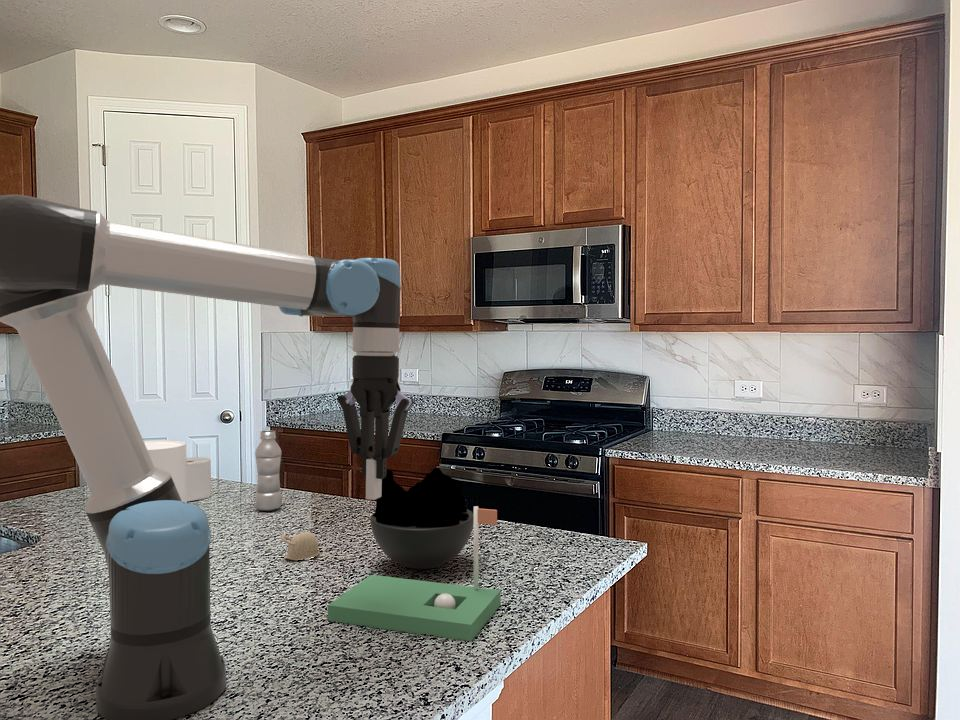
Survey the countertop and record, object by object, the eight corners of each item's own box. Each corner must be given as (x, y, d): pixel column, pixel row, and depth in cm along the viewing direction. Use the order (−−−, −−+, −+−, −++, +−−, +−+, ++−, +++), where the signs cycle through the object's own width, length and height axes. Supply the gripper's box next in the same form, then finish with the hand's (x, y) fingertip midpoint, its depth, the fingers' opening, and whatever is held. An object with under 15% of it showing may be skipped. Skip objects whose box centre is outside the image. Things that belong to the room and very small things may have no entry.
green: (471, 641, 109) (471, 531, 108) (327, 620, 117) (326, 517, 116) (500, 604, 123) (500, 507, 122) (371, 588, 131) (370, 496, 130)
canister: (187, 538, 162) (185, 447, 161) (119, 545, 157) (116, 451, 156) (187, 522, 174) (185, 438, 173) (124, 528, 169) (122, 442, 168)
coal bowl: (493, 560, 146) (493, 466, 145) (436, 592, 129) (436, 485, 128) (411, 545, 157) (410, 457, 156) (348, 572, 139) (348, 474, 138)
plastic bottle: (250, 512, 184) (248, 432, 183) (265, 505, 191) (264, 429, 190) (272, 514, 182) (271, 433, 181) (287, 507, 189) (286, 430, 188)
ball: (438, 623, 117) (454, 611, 116) (426, 604, 118) (442, 592, 117) (447, 616, 120) (463, 605, 119) (435, 598, 121) (450, 586, 120)
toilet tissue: (203, 490, 208) (202, 455, 208) (218, 498, 199) (218, 461, 198) (164, 496, 201) (163, 460, 201) (178, 504, 192) (177, 466, 192)
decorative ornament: (324, 557, 149) (323, 531, 148) (284, 565, 144) (283, 538, 144) (316, 552, 152) (315, 526, 152) (276, 559, 147) (276, 533, 147)
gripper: (421, 354, 122) (419, 496, 122) (351, 352, 126) (349, 489, 127) (402, 355, 115) (400, 506, 115) (328, 353, 119) (326, 498, 120)
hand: (373, 497), depth 121 cm, fingers closed
